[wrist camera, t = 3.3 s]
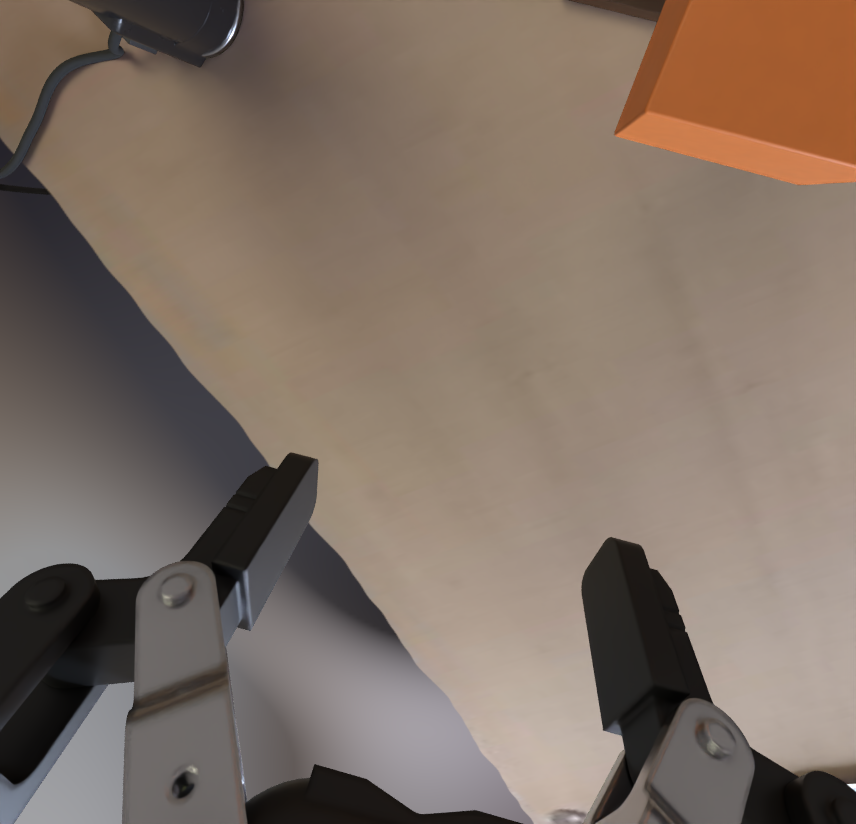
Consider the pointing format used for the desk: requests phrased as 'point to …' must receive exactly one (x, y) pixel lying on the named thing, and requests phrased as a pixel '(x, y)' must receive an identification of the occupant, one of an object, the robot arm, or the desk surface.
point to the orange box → (751, 87)
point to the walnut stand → (630, 7)
